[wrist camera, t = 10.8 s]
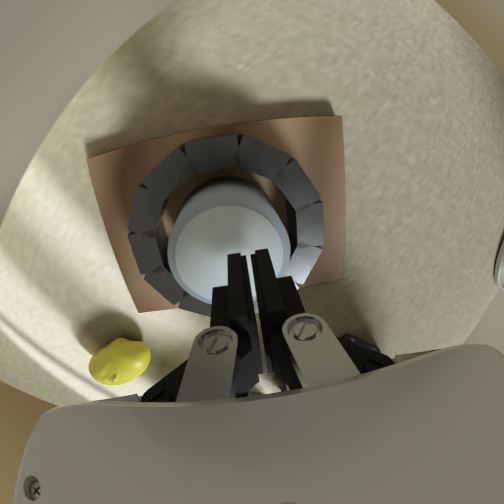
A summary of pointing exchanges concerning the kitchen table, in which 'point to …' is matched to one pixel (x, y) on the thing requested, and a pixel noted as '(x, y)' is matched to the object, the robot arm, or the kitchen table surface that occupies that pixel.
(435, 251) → the kitchen table surface
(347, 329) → the kitchen table surface
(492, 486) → the robot arm
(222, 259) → the cap
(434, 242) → the kitchen table surface
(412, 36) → the kitchen table surface
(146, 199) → the segmented ring
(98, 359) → the lemon
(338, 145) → the board
